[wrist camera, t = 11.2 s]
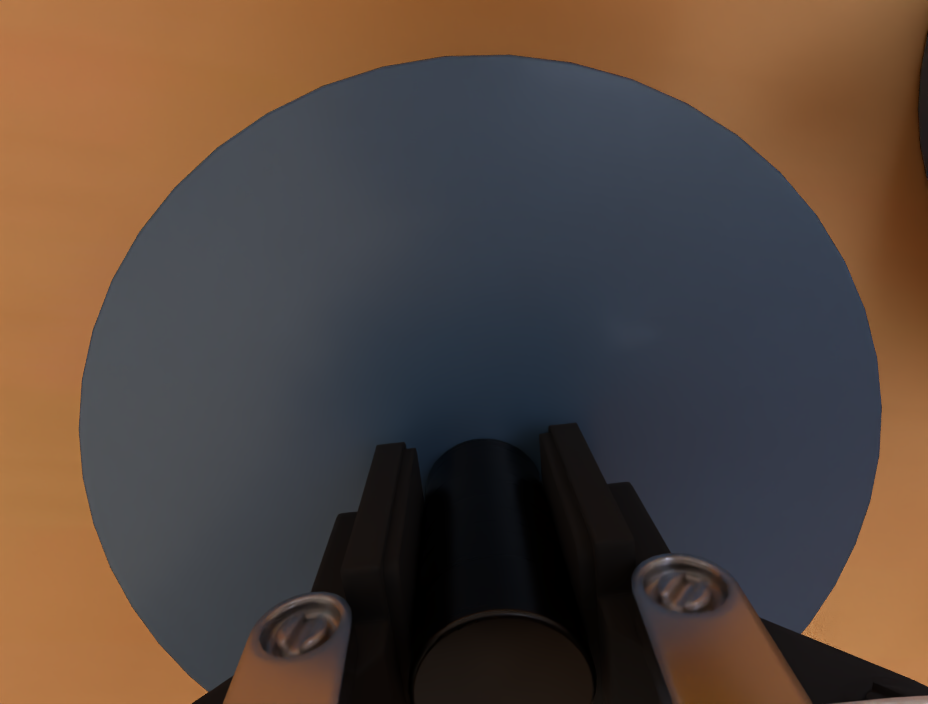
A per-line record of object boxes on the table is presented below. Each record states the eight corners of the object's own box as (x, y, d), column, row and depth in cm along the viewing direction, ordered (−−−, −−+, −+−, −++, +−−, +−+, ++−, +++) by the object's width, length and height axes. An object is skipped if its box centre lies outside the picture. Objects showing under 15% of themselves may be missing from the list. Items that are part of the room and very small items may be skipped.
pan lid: (54, 43, 11) (-429, -117, 5) (935, 86, 11) (1467, -13, 5) (151, 739, 15) (-34, 1085, 10) (770, 750, 16) (956, 1086, 10)
